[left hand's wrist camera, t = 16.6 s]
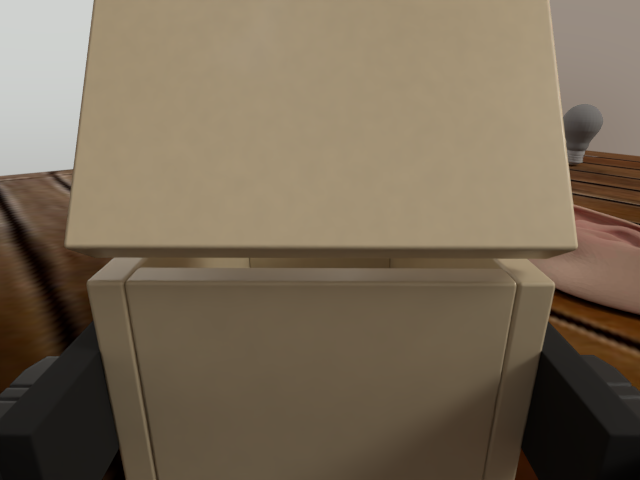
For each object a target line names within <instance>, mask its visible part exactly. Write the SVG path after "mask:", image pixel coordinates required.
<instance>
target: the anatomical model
mask: <svg viewBox="0 0 640 480" xmlns="http://www.w3.org/2000/svg"><path fill="white" fill-rule="evenodd" d="M573 208H574V216H575V225H576V233H577V242H578V247H577V249H576V250H574V251H572V252H568V253H565V254H562V255H558V256H555V257H552V258H549V259H528V260H529V261H530V262H531V263H532V264H534V265H535V266H536V267H537V268H538V269H539V270H541V271H542V272H543V273H544V274H545V275H546V276H547V277H549V278H550V279H551V280H552V281H553V282H554V283H555V288H557V289H559V290H561V291H563V292H565V293H568V294H570V295H573V296H576V297H579V298H581V299H584V300H587V301H590V302H594V303H597V304H600V305H604V306H607V307H611V308H615V309H619V310H622V311H626V312H630V313H634V314H639V315H640V226H639V225H637V224H634V223H631V222H628V221H626V220H622V219H619V218H616V217H613V216H610V215H606V214H603V213H600V212H597V211H593V210H590V209H587V208H584V207H580V206H577V205H573Z"/></svg>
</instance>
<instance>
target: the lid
mask: <svg viewBox="0 0 640 480" xmlns="http://www.w3.org/2000/svg"><path fill="white" fill-rule="evenodd" d="M64 245H65V248H67V249H69V250H72V251H76V252H79V253H82V254H85V255H88V256H91V257H95V258H411V259H549V258H552V257H555V256H558V255H562V254H565V253H568V252H572V251H574V250H576V249H577V247H578V242H577V233H576V225H575V216H574V208H573V199H572V191H571V182H570V174H569V165H568V156H567V148H566V139H565V131H564V122H563V114H562V105H561V97H560V88H559V80H558V71H557V62H556V54H555V45H554V37H553V28H552V20H551V11H550V3H549V0H94V4H93V12H92V20H91V29H90V37H89V45H88V53H87V62H86V70H85V78H84V86H83V94H82V103H81V111H80V119H79V127H78V135H77V144H76V152H75V160H74V168H73V177H72V185H71V193H70V201H69V209H68V218H67V226H66V234H65V242H64Z"/></svg>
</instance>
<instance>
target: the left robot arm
mask: <svg viewBox="0 0 640 480" xmlns="http://www.w3.org/2000/svg"><path fill="white" fill-rule="evenodd" d="M521 448H522V450H523V452H524V454H525V455H526V457H527V459H528V461H529V463H530V465H531V466H532V468H533V470H534V472H535V474H536V476H537V477H538V479H539V480H640V392H639V391H638V390H637V389H636V388H635V387H632V386H631V383H630V382H629V381H628V380H627V379H626V378H625V377H624V376H623V375H622V374H621V373H620V372H619V371H618V370H617V369H616V368H614V367H613V366H611V365H609V364H608V363H606V362H604V361H603V360H601V359H599V358H598V357H596V356H594V355H579V353H578V352H577V351H576V350H575V349H574V348H573V347H572V346H571V345H570V344H569V343H568V342H567V341H566V340H565V339H564V338H563V337H562V336H561V334H560V333H559V332H558V331H557V330H556V329H555V328H554V327H553V326H552V325H551V324H550V323H549V322H548V323H547V328H546V333H545V337H544V342H543V347H542V351H541V355H540V360H539V364H538V369H537V374H536V379H535V384H534V388H533V393H532V398H531V403H530V408H529V412H528V417H527V422H526V427H525V432H524V436H523V441H522V446H521ZM118 449H119V443H118V439H117V434H116V429H115V424H114V419H113V414H112V409H111V404H110V399H109V394H108V389H107V384H106V379H105V374H104V369H103V364H102V359H101V354H100V349H99V344H98V340H97V335H96V330H95V325H94V320H93V321H92V322H91V323H90V324H89V325H88V327H87V328H86V329H85V330H84V331H83V332H82V333H81V334H80V335H79V336H78V337H77V338H76V339H75V340H74V341H73V342H72V343H71V345H70V346H69V347H68V348H67V349H66V350H65V351H64V352H63V353H62V354H61V355H60V356H47V357H46V358H44V359H42V360H41V361H39V362H37V363H36V364H34V365H32V366H31V367H29V368H27V369H26V370H25V371H24V372H22V373H21V374H20V375H19V376H18V377H17V378H16V379H15V380H14V381H13V382H12V383H11V384H10V387H9V388H6V389H5V390H4V391H3V392H2V393H1V394H0V480H102V478H103V476H104V475H105V473H106V471H107V469H108V467H109V465H110V464H111V462H112V460H113V458H114V456H115V455H116V453H117V451H118Z"/></svg>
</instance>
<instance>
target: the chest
mask: <svg viewBox="0 0 640 480" xmlns="http://www.w3.org/2000/svg"><path fill="white" fill-rule="evenodd" d="M87 290H88V295H89V300H90V305H91V310H92V315H93V320H94V325H95V330H96V335H97V340H98V344H99V349H100V354H101V359H102V364H103V369H104V374H105V379H106V384H107V389H108V394H109V399H110V404H111V409H112V414H113V419H114V424H115V429H116V434H117V439H118V443H119V448H120V453H121V458H122V463H123V468H124V473H125V478H126V480H514V479H515V474H516V469H517V465H518V460H519V455H520V451H521V446H522V441H523V436H524V432H525V427H526V422H527V417H528V412H529V408H530V403H531V398H532V393H533V388H534V384H535V379H536V374H537V369H538V364H539V360H540V355H541V351H542V347H543V342H544V337H545V333H546V328H547V323H548V319H549V314H550V309H551V304H552V300H553V295H554V290H555V283H554V282H553V281H552V280H551V279H550V278H549V277H547V276H546V275H545V274H544V273H543V272H542V271H541V270H539V269H538V268H537V267H536V266H535V265H534V264H532V263H531V262H530V261H529V260H528V259H411V258H113V259H112V260H111V261H110V262H109V263H108V264H107V265H105V266H104V267H103V268H102V269H101V270H100V271H99V272H97V273H96V274H95V275H94V276H93V277H92V278H91V279H89V280H88V281H87Z"/></svg>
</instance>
